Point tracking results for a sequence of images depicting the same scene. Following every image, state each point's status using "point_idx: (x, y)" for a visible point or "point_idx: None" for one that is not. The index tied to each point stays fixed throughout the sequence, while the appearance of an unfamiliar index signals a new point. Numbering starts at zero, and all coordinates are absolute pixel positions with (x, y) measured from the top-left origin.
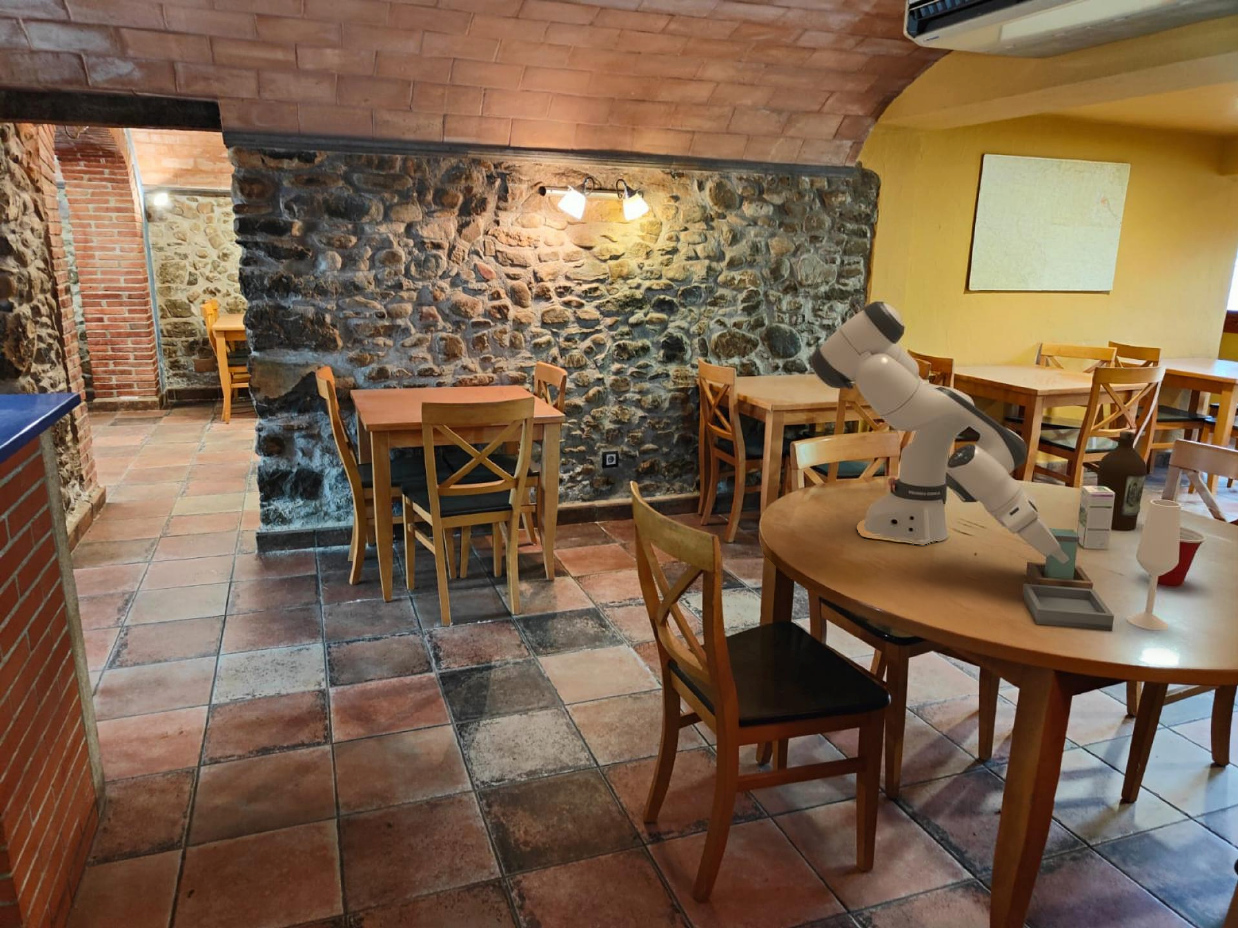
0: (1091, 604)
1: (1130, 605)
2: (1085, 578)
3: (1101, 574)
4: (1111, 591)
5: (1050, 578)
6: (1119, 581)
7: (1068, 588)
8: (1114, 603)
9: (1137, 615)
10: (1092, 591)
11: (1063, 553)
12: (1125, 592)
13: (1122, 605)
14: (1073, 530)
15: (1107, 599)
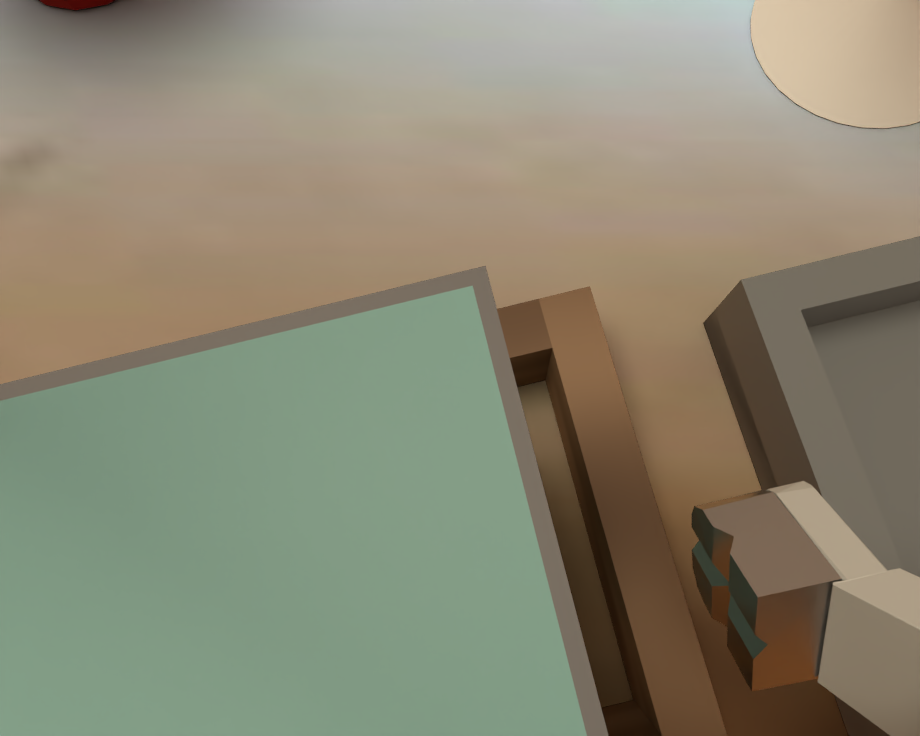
0: (859, 318)
1: (611, 110)
2: None
3: (65, 266)
4: (394, 209)
5: (646, 653)
6: (171, 165)
7: (852, 483)
8: (626, 193)
9: (896, 54)
10: (806, 290)
11: (895, 574)
12: (375, 134)
13: (638, 151)
14: (5, 393)
15: (570, 232)
